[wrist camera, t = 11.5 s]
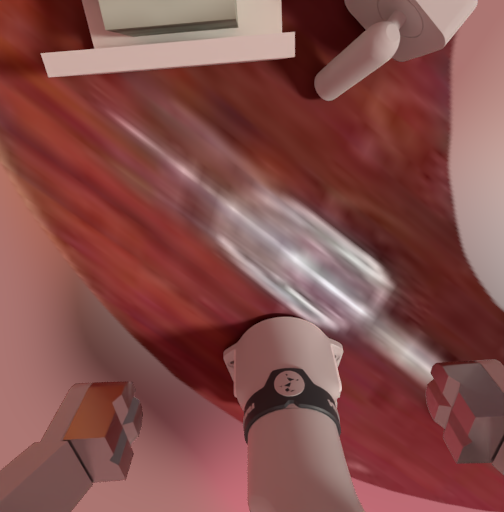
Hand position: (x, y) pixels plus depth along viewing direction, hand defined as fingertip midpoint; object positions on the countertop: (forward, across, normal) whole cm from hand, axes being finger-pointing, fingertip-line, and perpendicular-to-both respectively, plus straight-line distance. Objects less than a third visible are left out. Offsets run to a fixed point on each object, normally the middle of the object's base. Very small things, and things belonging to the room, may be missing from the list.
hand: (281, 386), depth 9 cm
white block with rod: (+34, -10, -8) cm, 36 cm away
